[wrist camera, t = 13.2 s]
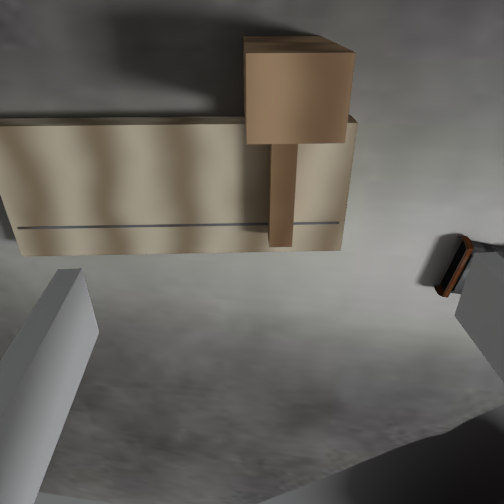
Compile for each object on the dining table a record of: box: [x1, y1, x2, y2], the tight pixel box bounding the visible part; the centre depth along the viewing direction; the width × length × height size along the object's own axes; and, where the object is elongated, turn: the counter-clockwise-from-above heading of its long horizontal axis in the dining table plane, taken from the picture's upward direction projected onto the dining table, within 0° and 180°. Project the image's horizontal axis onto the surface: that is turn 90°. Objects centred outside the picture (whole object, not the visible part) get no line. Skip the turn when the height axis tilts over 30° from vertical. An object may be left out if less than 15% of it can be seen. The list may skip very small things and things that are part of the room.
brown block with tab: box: [243, 36, 356, 247], centre depth 31 cm, size 6×16×11 cm, turn 0°
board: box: [0, 115, 358, 256], centre depth 37 cm, size 30×12×2 cm, turn 90°
